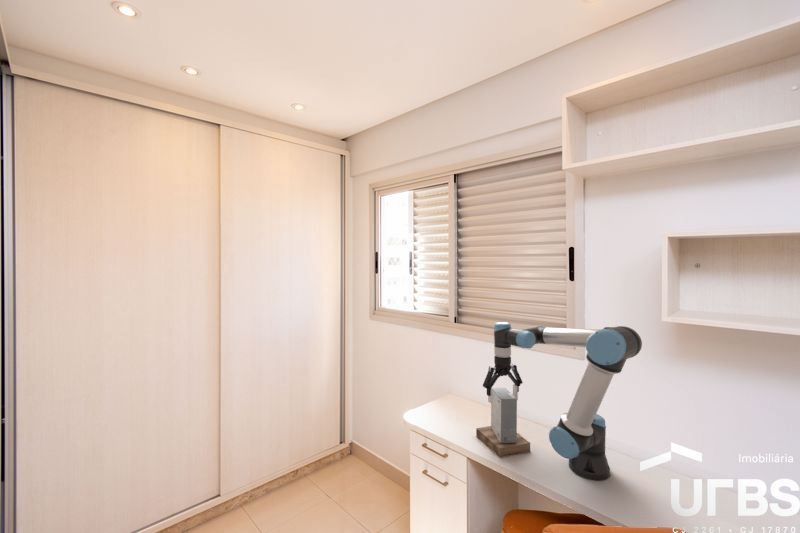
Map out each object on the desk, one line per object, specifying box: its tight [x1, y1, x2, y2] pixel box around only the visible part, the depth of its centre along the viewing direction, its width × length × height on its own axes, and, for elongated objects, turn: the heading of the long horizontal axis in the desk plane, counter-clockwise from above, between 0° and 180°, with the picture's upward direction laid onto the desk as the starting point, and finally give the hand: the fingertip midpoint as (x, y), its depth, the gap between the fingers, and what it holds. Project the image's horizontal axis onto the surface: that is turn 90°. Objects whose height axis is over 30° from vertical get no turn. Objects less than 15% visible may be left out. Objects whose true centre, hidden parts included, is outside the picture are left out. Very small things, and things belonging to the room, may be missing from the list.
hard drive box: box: [490, 387, 518, 443], centre depth 167 cm, size 16×8×20 cm, turn 2°
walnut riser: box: [475, 425, 531, 458], centre depth 167 cm, size 20×16×4 cm
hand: (503, 400), depth 166 cm, fingers open, 13 cm apart
